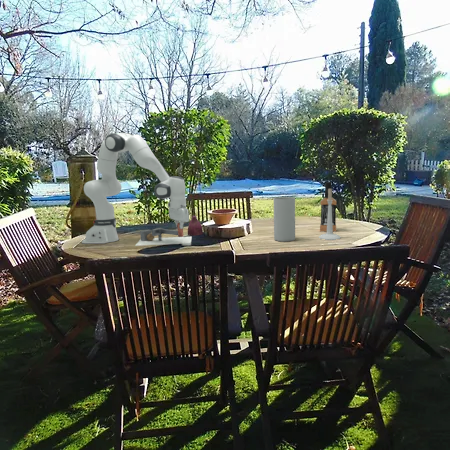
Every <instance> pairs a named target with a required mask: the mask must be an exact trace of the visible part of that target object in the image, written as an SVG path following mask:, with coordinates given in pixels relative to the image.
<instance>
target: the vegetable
mask: <svg viewBox="0 0 450 450" xmlns="http://www.w3.org/2000/svg"><path fill="white" fill-rule="evenodd" d="M202 235H204V229H203V225H202V224H201V222H200V221H199V219H198V218H197V216H196V215H194V214H193V215H192V216H191V219H190V220H189V222H188V227H187V236H202Z"/></svg>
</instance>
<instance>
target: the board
mask: <svg viewBox="0 0 450 450" xmlns="http://www.w3.org/2000/svg"><path fill="white" fill-rule="evenodd" d="M139 233H140V234H139V235H140V239H139V240H138V242H136V244H135V247H136V246H156V245H157V246H158V245H161V246H162V245H179V244H181V246H192V238H193V237H192V235H190V236H183V237H178V236H175V237H174V236H171V237H162V236H163V234H160V235H157V237H154V239H153V240H152V241H149V240H148V239H147V235H148V234H150V233H151V234H152V229H144V230H140V232H139Z"/></svg>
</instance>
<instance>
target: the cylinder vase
mask: <svg viewBox="0 0 450 450" xmlns="http://www.w3.org/2000/svg"><path fill="white" fill-rule="evenodd" d="M273 239H274V240H275V241H276V242H283V243H285V242H292V241H293V242H294V240H296V198H295V196H294V197H293V196H278V197H273Z"/></svg>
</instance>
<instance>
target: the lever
mask: <svg viewBox="0 0 450 450" xmlns="http://www.w3.org/2000/svg"><path fill="white" fill-rule="evenodd" d="M179 226H180V222H179V223H178V228H177V229H167V228H166V229H165V228H163V227H157V228H153V229H151V234H152V236H154V237H158V235H160V234H161V235H173V236H177V237H184V228H183V229H180V228H179Z"/></svg>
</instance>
